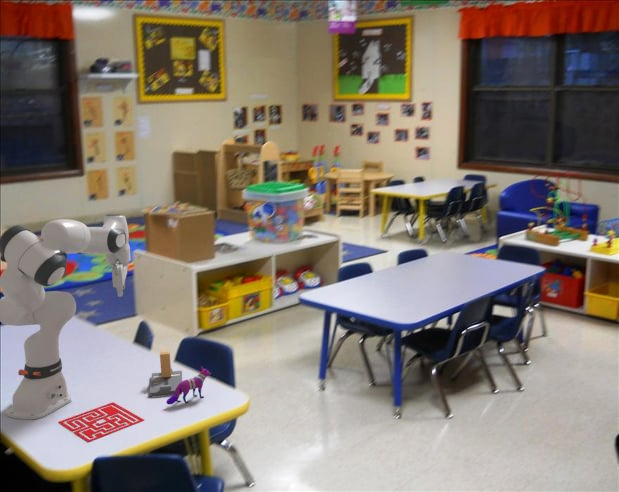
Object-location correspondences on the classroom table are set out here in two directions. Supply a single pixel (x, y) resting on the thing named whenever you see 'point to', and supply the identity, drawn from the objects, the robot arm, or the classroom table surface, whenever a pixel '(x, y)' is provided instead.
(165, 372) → the fader cap
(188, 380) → the purple fox figurine
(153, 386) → the fader board
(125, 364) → the classroom table surface
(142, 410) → the classroom table surface
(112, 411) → the maze puzzle
